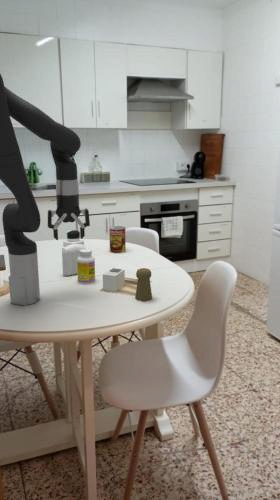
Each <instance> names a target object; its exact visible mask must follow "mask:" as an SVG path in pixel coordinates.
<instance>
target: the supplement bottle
mask: <svg viewBox="0 0 280 500" xmlns="http://www.w3.org/2000/svg"><path fill="white" fill-rule="evenodd" d="M92 253H93V250H92V249H89V248H86V249H82V250H80V256H79V257H78V259H77V269H78V274H77V282H78V284H82V285H90V284H93V283H95V282H96V263H95V261H96V259H95V257H94V256H93V255H92Z"/></svg>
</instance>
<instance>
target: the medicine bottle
mask: <svg viewBox="0 0 280 500" xmlns="http://www.w3.org/2000/svg"><path fill="white" fill-rule="evenodd" d="M72 244H81V245H85V241H84V240H83V239H81V238H80V230H77V229H73V230H72V229H71V230H68V231H67V232H66V240H64V241H62V245H63V248H64V247H66V246H68V245H72ZM63 248H62V249H63Z"/></svg>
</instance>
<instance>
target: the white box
mask: <svg viewBox="0 0 280 500" xmlns="http://www.w3.org/2000/svg"><path fill="white" fill-rule="evenodd" d="M125 272H126V271H125V269H122V268H115V267H112V268H110V269H109V270H108V271H105V272H104V273H102V288H103V290H106V291H113V292H116V291H117V290H119V289H120V288H121V287H123V286H124V285H125V278H126V275H125V274H126V273H125Z"/></svg>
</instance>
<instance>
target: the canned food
mask: <svg viewBox="0 0 280 500" xmlns="http://www.w3.org/2000/svg"><path fill="white" fill-rule="evenodd" d="M109 252H110V253H111V254H123V253H125V252H127V251H126V227H125V226H122V225H113V226H110V227H109Z"/></svg>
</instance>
